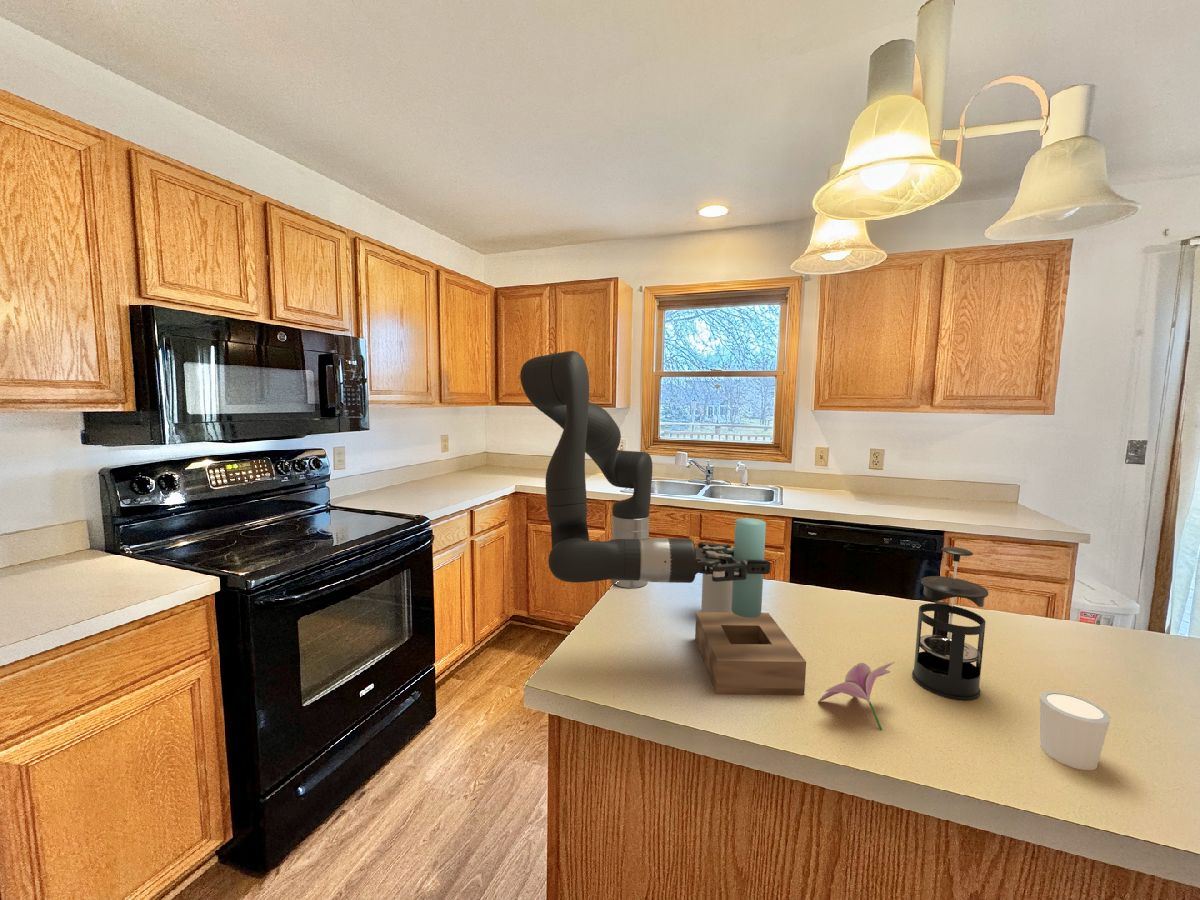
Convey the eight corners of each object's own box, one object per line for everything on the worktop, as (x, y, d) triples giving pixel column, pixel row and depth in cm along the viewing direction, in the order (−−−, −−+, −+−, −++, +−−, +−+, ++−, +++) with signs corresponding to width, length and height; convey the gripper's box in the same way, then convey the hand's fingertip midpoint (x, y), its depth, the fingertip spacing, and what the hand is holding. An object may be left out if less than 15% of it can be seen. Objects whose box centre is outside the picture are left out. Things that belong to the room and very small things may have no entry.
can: (741, 625, 104) (743, 569, 103) (704, 624, 104) (706, 568, 103) (732, 610, 112) (734, 557, 110) (698, 609, 112) (700, 556, 110)
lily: (902, 710, 78) (876, 646, 81) (934, 728, 67) (903, 652, 70) (824, 728, 79) (802, 664, 82) (844, 748, 68) (817, 673, 71)
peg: (728, 605, 90) (732, 517, 89) (756, 605, 90) (760, 518, 89) (735, 617, 85) (740, 525, 84) (765, 617, 85) (770, 525, 84)
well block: (695, 639, 98) (695, 611, 97) (767, 639, 98) (768, 612, 97) (716, 693, 80) (717, 660, 79) (804, 694, 80) (806, 661, 79)
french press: (990, 708, 77) (1005, 562, 74) (919, 695, 80) (931, 555, 78) (967, 670, 88) (979, 541, 85) (905, 659, 91) (915, 535, 89)
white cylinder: (1024, 733, 71) (1029, 686, 71) (1083, 743, 70) (1089, 695, 69) (1051, 767, 65) (1057, 716, 64) (1118, 779, 63) (1125, 727, 62)
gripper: (672, 551, 79) (780, 553, 79) (661, 527, 94) (752, 529, 94) (670, 597, 80) (777, 599, 80) (660, 567, 94) (750, 568, 94)
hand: (763, 561), depth 87 cm, fingers closed on peg, 5 cm apart
